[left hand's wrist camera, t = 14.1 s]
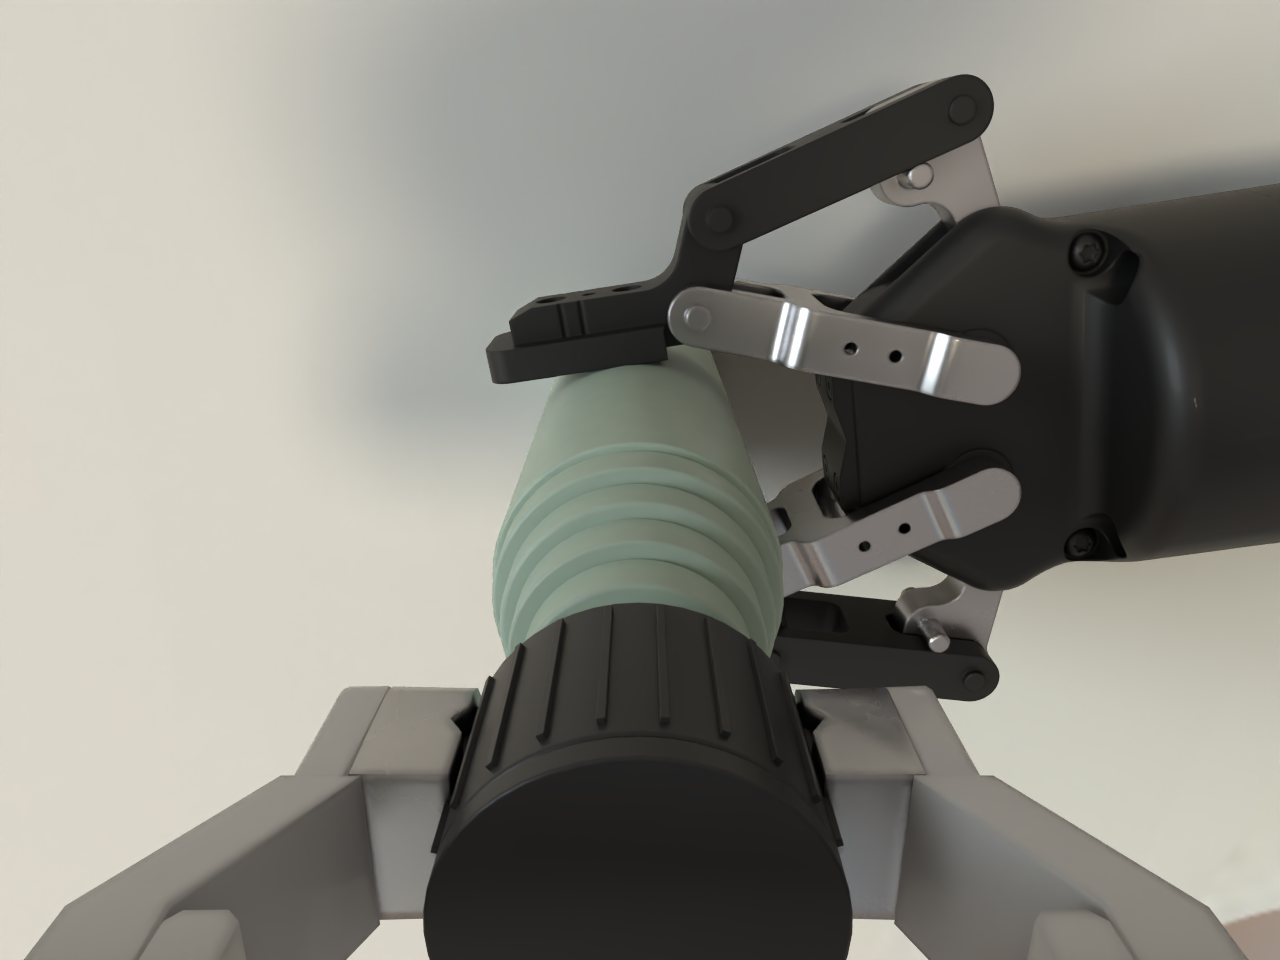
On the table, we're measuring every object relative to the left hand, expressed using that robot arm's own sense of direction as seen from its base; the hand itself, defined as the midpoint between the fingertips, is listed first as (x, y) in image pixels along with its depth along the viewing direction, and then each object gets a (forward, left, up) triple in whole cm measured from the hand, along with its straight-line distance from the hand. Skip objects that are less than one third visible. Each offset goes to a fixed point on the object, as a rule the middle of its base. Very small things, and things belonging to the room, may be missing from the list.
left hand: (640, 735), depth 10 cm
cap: (0, 0, 0) cm, 0 cm away
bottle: (0, 0, -17) cm, 17 cm away
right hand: (0, -3, -10) cm, 10 cm away
